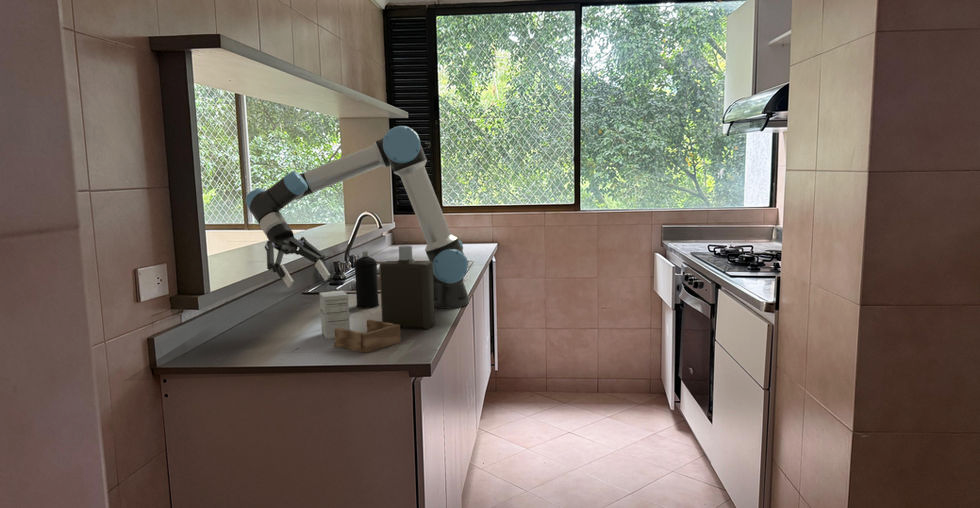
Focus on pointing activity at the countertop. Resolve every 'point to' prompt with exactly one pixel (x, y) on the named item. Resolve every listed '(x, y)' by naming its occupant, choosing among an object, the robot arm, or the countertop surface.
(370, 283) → the aerosol can
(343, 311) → the supplement box
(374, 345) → the u rest
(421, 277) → the bottle
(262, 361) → the countertop surface
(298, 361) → the countertop surface
